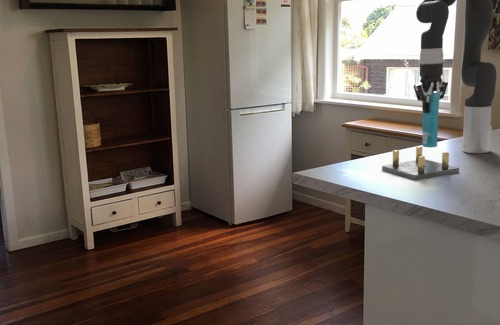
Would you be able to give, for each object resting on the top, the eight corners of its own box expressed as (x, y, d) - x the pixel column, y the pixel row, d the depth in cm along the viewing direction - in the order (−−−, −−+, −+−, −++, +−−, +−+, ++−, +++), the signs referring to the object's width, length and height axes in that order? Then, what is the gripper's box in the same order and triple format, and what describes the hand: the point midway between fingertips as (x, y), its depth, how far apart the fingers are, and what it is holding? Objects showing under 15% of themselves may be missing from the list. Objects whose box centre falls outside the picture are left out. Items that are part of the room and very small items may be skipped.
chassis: (423, 163, 187) (424, 144, 186) (458, 172, 173) (459, 152, 172) (382, 170, 180) (382, 151, 179) (415, 180, 166) (416, 159, 164)
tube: (442, 146, 188) (444, 91, 184) (435, 148, 185) (436, 93, 181) (424, 144, 194) (425, 90, 190) (416, 146, 191) (417, 92, 187)
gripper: (438, 60, 189) (437, 109, 193) (407, 63, 184) (407, 113, 187) (455, 60, 183) (453, 111, 187) (423, 63, 177) (422, 115, 181)
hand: (430, 112), depth 187 cm, fingers closed on tube, 3 cm apart
